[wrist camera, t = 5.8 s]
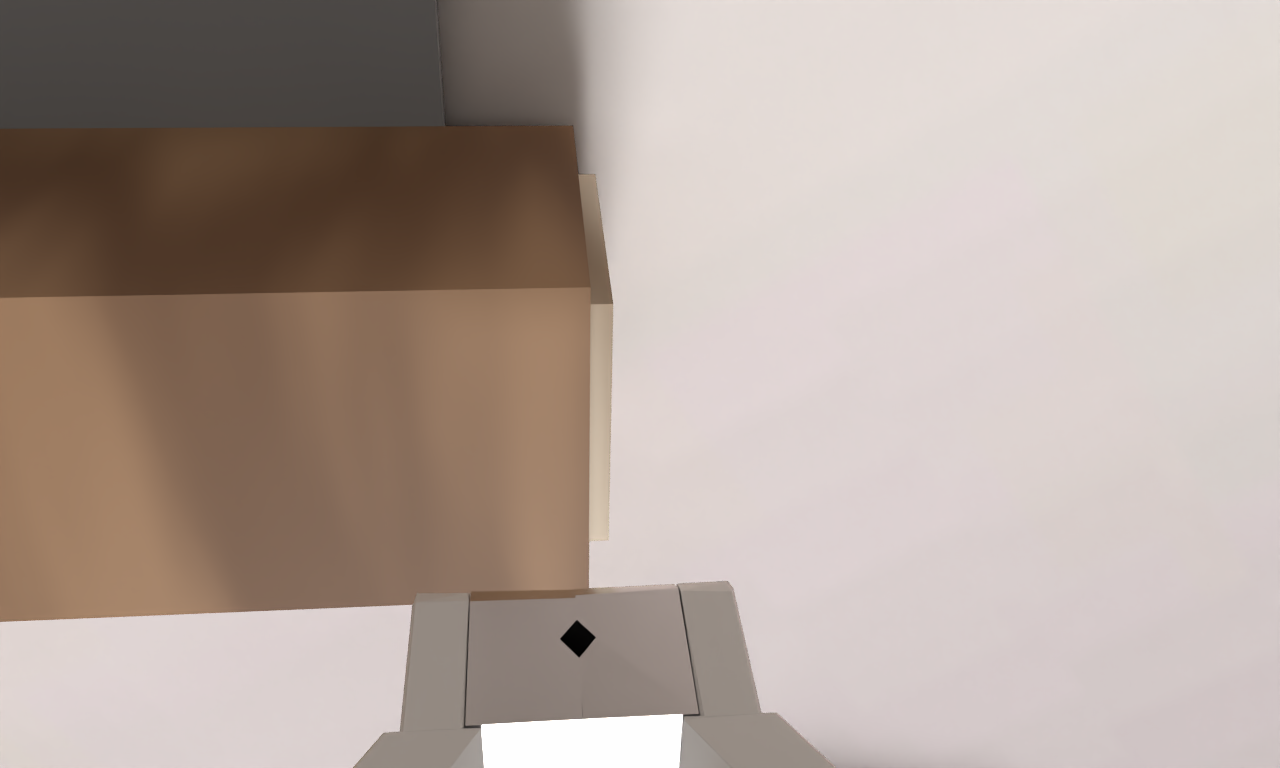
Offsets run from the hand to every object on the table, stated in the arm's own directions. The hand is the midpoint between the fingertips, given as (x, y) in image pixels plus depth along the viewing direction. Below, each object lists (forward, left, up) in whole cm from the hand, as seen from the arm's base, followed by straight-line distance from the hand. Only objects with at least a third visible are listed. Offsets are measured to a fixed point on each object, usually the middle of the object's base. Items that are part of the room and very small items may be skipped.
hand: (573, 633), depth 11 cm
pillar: (-1, 0, -5) cm, 5 cm away
